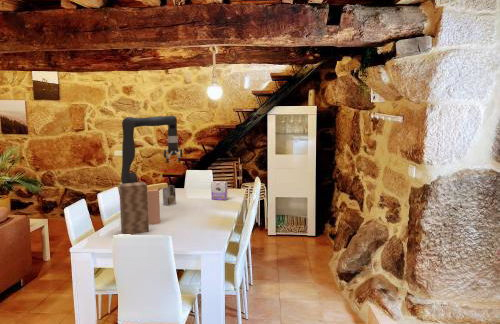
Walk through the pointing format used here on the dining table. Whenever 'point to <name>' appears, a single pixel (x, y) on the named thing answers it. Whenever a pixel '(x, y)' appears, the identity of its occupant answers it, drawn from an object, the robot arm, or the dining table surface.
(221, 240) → the dining table surface
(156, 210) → the terracotta base
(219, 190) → the candy box
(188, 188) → the dining table surface
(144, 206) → the plinth
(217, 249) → the dining table surface
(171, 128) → the robot arm
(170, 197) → the coffee box
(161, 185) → the dowel
